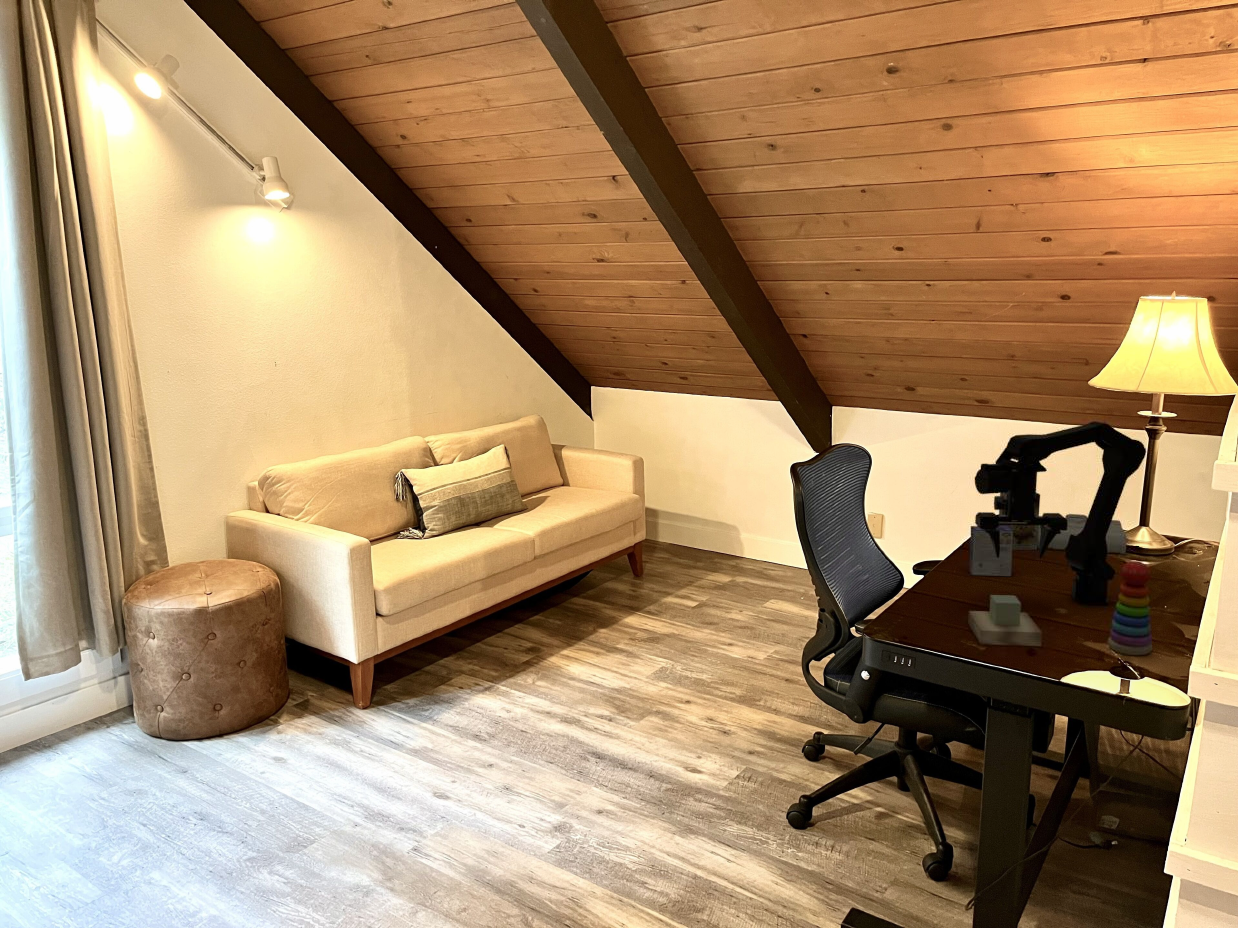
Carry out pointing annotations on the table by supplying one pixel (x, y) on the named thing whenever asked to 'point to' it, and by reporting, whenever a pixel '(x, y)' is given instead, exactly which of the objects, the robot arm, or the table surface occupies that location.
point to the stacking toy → (1132, 612)
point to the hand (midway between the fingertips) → (1018, 557)
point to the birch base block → (1004, 630)
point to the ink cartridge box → (990, 552)
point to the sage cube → (1005, 610)
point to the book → (1076, 523)
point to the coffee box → (1024, 530)
